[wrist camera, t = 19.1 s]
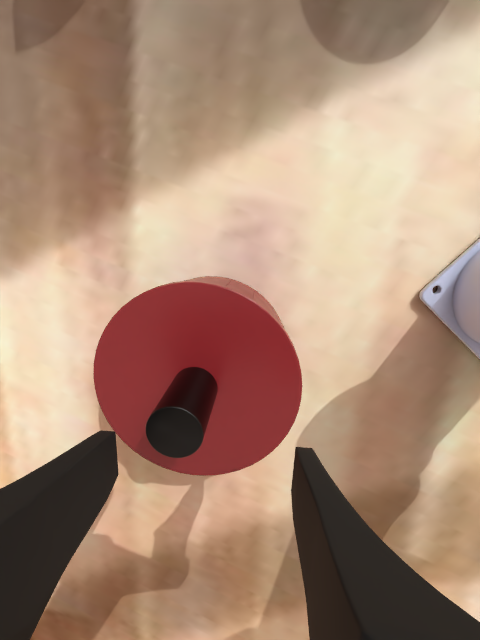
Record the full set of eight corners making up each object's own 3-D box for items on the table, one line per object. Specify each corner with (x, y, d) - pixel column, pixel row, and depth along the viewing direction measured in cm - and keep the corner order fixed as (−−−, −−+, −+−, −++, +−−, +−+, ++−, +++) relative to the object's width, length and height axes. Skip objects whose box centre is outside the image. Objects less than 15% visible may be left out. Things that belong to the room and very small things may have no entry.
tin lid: (187, 232, 15) (150, 229, 10) (343, 377, 17) (376, 434, 12) (66, 379, 18) (-8, 432, 13) (209, 493, 19) (190, 580, 14)
